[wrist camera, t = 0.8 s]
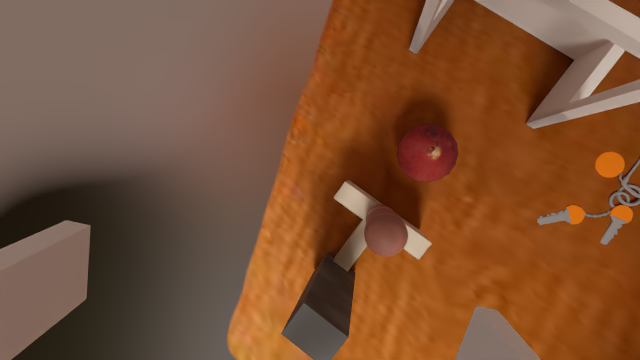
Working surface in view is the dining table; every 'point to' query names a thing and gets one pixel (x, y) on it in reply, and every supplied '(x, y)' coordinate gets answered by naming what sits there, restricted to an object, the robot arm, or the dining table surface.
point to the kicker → (347, 273)
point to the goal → (565, 49)
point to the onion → (427, 153)
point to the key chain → (609, 167)
